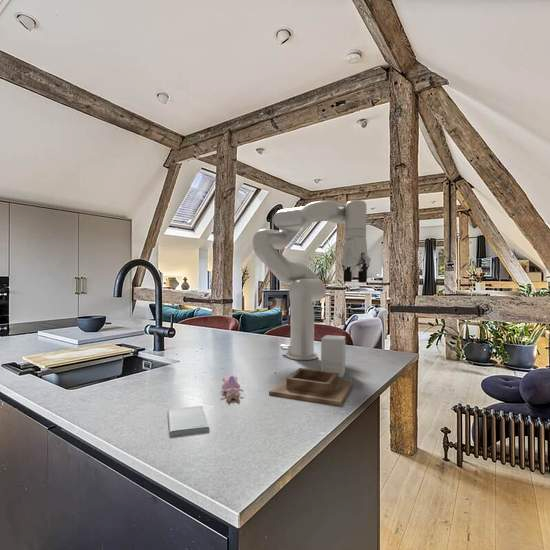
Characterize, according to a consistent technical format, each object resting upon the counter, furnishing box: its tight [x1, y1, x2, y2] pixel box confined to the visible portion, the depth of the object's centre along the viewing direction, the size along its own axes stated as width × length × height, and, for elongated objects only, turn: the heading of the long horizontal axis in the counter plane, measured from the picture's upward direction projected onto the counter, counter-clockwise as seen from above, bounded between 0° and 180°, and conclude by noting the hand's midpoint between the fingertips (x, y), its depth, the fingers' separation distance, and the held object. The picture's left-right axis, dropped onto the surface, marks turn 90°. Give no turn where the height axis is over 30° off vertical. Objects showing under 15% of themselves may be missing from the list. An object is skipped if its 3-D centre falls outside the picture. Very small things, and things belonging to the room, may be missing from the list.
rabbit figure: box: [220, 374, 244, 403], centre depth 100 cm, size 6×6×15 cm
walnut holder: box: [268, 367, 354, 407], centre depth 105 cm, size 20×20×4 cm
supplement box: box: [320, 334, 346, 379], centre depth 121 cm, size 7×7×13 cm
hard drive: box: [167, 405, 211, 437], centre depth 81 cm, size 2×8×12 cm
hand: (354, 282), depth 130 cm, fingers open, 9 cm apart
